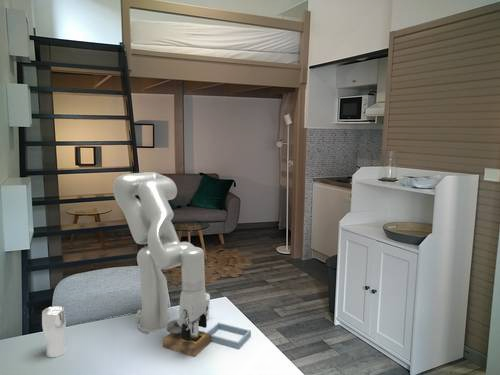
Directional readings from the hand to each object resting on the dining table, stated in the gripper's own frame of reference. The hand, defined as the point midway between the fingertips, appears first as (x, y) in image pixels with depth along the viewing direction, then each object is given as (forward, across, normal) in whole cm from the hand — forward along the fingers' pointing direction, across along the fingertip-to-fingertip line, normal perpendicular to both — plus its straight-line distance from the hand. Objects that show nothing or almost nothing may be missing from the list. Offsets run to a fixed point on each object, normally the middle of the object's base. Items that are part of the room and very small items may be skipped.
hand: (194, 333), depth 131 cm
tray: (+6, -10, +7) cm, 14 cm away
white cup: (+6, -18, -10) cm, 21 cm away
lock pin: (+5, 0, 0) cm, 5 cm away
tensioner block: (+6, 0, -4) cm, 7 cm away
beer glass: (+6, +22, -41) cm, 47 cm away
